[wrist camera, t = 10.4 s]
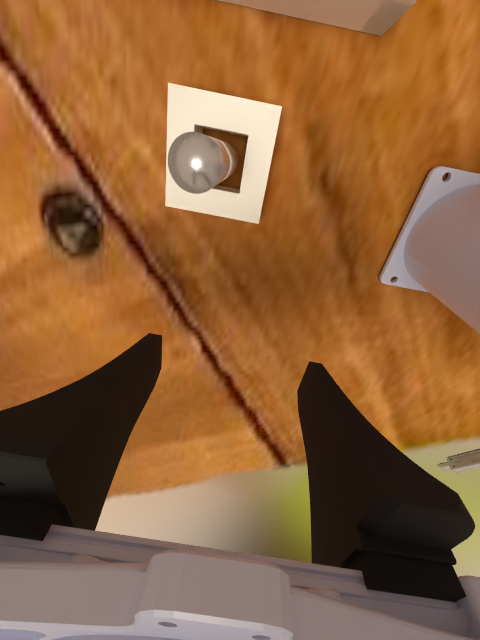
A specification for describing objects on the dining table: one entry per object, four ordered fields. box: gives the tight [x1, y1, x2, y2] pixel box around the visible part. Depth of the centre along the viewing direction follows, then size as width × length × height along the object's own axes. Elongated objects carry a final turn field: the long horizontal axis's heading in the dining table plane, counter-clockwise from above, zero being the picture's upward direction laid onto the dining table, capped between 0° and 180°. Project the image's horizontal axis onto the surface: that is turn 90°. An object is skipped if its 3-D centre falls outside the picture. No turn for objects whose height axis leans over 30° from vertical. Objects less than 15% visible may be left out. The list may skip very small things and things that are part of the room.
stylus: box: [168, 132, 239, 194], centre depth 14 cm, size 2×2×9 cm
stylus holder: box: [165, 83, 282, 224], centre depth 17 cm, size 6×6×2 cm
